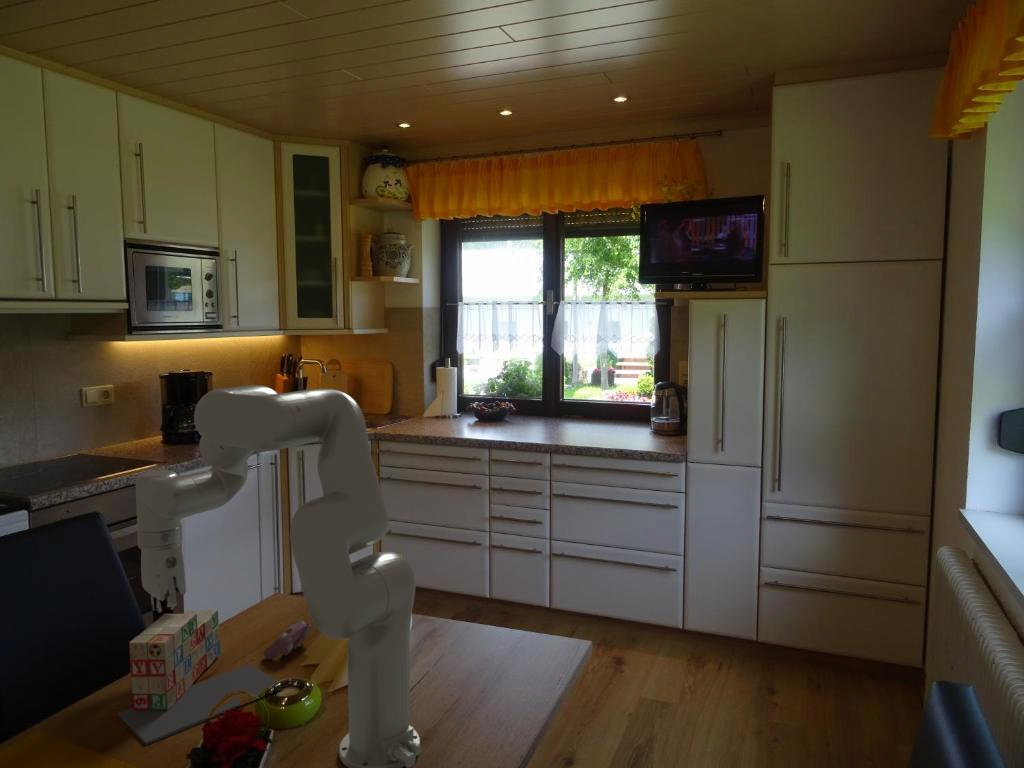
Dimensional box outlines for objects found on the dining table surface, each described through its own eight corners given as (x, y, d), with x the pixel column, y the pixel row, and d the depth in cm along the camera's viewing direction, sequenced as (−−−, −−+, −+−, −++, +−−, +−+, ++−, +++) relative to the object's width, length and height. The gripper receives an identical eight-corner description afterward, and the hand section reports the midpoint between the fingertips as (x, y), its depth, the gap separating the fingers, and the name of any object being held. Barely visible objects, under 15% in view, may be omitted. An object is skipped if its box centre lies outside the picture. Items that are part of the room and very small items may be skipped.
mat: (283, 689, 133) (283, 686, 133) (146, 745, 116) (145, 742, 116) (250, 666, 142) (250, 663, 142) (118, 715, 124) (117, 712, 124)
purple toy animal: (277, 670, 143) (289, 642, 142) (260, 657, 144) (272, 629, 143) (307, 648, 153) (319, 622, 151) (291, 636, 154) (303, 610, 152)
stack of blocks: (190, 654, 146) (187, 594, 145) (221, 654, 146) (218, 594, 145) (132, 710, 125) (128, 641, 124) (168, 711, 124) (164, 641, 123)
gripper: (196, 540, 135) (199, 635, 137) (164, 524, 145) (168, 612, 147) (154, 550, 130) (158, 648, 131) (124, 532, 140) (128, 623, 142)
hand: (163, 629), depth 139 cm, fingers closed
